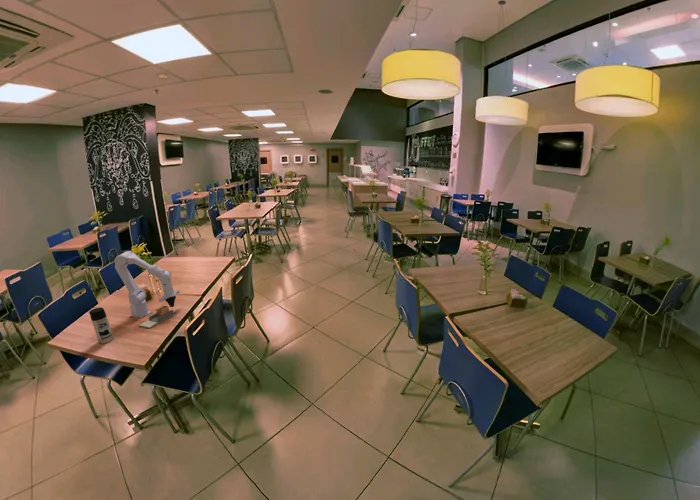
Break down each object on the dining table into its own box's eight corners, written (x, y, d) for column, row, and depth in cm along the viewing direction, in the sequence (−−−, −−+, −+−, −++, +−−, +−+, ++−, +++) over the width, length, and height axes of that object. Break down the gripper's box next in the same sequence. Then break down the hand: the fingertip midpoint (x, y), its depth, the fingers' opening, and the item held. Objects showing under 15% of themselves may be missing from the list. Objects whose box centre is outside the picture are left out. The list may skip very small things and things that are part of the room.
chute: (138, 326, 181) (137, 322, 180) (164, 312, 197) (163, 308, 196) (149, 328, 178) (148, 324, 177) (174, 314, 195) (173, 310, 194)
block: (157, 316, 190) (155, 308, 189) (164, 312, 195) (162, 305, 193) (163, 317, 189) (161, 309, 187) (169, 313, 194) (168, 306, 192)
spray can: (101, 345, 163) (91, 314, 157) (97, 341, 167) (86, 310, 161) (115, 339, 169) (106, 308, 163) (110, 335, 172) (101, 305, 166)
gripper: (162, 294, 186) (167, 312, 190) (181, 284, 199) (185, 302, 203) (154, 292, 188) (159, 311, 192) (173, 283, 201) (177, 301, 205)
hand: (172, 306), depth 198 cm, fingers closed
